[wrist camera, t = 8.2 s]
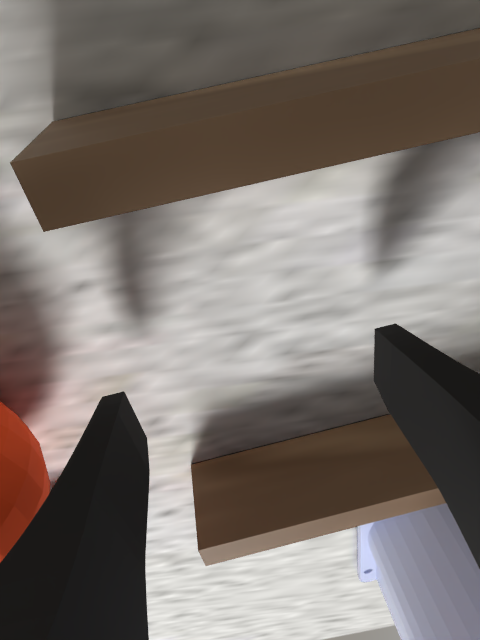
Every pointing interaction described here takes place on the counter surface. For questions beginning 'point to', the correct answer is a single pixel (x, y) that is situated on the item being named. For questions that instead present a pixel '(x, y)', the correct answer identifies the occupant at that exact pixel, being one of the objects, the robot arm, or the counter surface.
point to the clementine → (19, 478)
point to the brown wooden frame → (249, 168)
